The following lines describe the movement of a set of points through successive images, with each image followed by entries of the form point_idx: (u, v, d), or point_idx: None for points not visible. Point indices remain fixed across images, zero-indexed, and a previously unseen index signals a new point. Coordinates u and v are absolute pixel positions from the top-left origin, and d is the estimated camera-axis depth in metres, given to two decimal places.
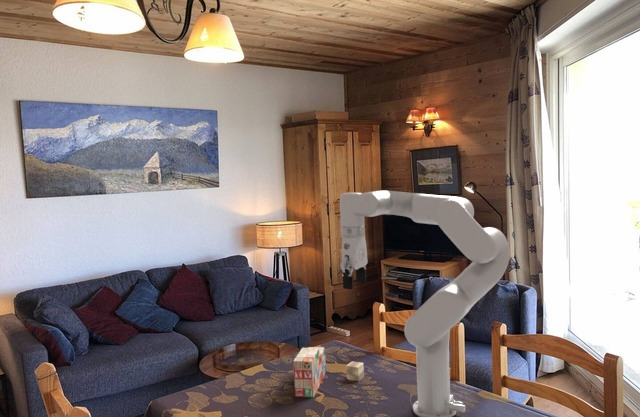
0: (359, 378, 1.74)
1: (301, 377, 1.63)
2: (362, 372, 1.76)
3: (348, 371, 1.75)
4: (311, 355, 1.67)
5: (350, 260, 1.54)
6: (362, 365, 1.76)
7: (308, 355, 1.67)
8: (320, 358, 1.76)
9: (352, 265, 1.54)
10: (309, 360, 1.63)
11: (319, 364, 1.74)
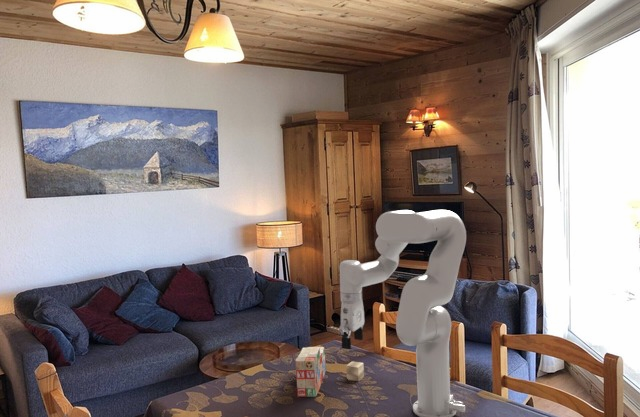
0: (359, 378, 1.74)
1: (304, 377, 1.63)
2: (362, 372, 1.76)
3: (348, 371, 1.75)
4: (313, 355, 1.67)
5: (348, 323, 1.71)
6: (362, 365, 1.76)
7: (310, 355, 1.67)
8: (321, 358, 1.76)
9: (350, 328, 1.70)
10: (311, 360, 1.63)
11: (320, 364, 1.74)
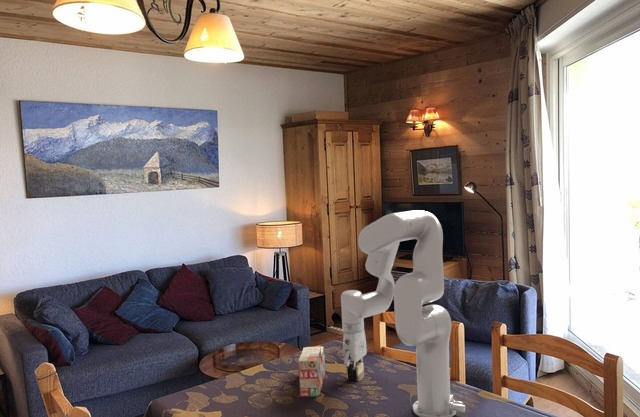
0: (359, 378, 1.74)
1: (307, 377, 1.64)
2: (362, 372, 1.76)
3: None
4: (315, 354, 1.67)
5: (351, 354, 1.71)
6: (362, 365, 1.76)
7: (312, 354, 1.68)
8: (321, 357, 1.77)
9: (352, 359, 1.71)
10: (314, 359, 1.64)
11: (321, 363, 1.75)
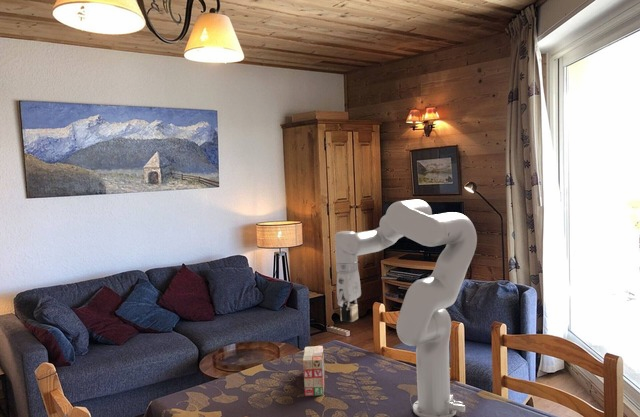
0: (353, 319, 1.73)
1: (311, 376, 1.64)
2: (356, 313, 1.75)
3: None
4: (318, 353, 1.68)
5: (344, 294, 1.69)
6: (356, 306, 1.75)
7: (315, 354, 1.68)
8: None
9: (346, 298, 1.69)
10: (319, 358, 1.64)
11: None
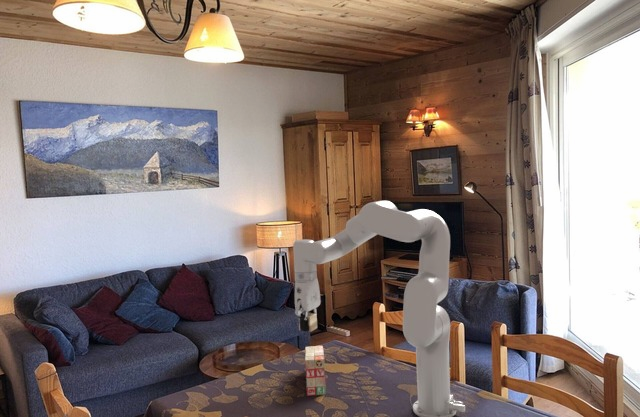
0: (311, 328, 1.70)
1: (313, 376, 1.64)
2: (315, 323, 1.72)
3: None
4: (320, 353, 1.68)
5: (302, 303, 1.67)
6: (315, 316, 1.72)
7: (317, 353, 1.68)
8: None
9: (304, 308, 1.67)
10: (321, 358, 1.65)
11: None
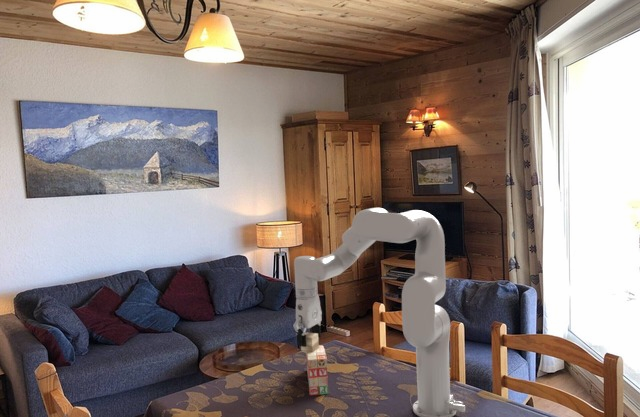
0: (313, 348, 1.71)
1: (316, 375, 1.64)
2: (317, 343, 1.73)
3: None
4: (322, 353, 1.69)
5: (303, 320, 1.67)
6: (317, 336, 1.73)
7: (319, 353, 1.69)
8: None
9: (305, 325, 1.67)
10: (323, 357, 1.65)
11: None
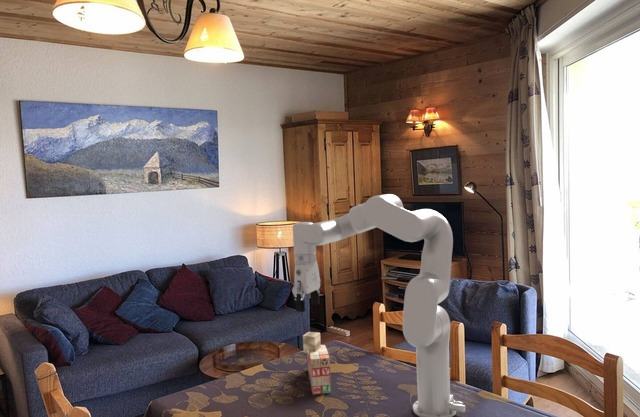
0: (316, 348, 1.71)
1: (319, 374, 1.65)
2: (319, 342, 1.74)
3: (304, 341, 1.72)
4: (324, 352, 1.69)
5: (302, 285, 1.67)
6: (319, 335, 1.74)
7: (321, 352, 1.69)
8: None
9: (304, 290, 1.67)
10: (326, 357, 1.66)
11: None
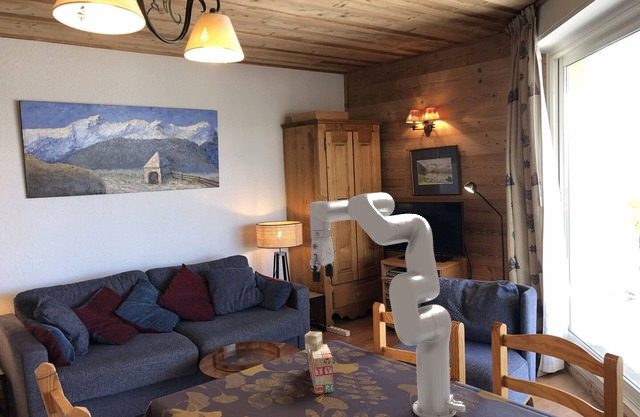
0: (318, 347, 1.72)
1: (322, 374, 1.65)
2: (320, 341, 1.74)
3: (306, 340, 1.73)
4: (326, 351, 1.70)
5: (318, 258, 1.85)
6: (320, 334, 1.74)
7: (323, 351, 1.70)
8: None
9: (320, 262, 1.84)
10: (329, 356, 1.66)
11: None
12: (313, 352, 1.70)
